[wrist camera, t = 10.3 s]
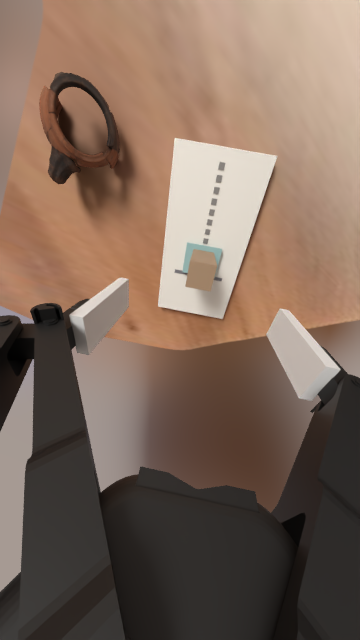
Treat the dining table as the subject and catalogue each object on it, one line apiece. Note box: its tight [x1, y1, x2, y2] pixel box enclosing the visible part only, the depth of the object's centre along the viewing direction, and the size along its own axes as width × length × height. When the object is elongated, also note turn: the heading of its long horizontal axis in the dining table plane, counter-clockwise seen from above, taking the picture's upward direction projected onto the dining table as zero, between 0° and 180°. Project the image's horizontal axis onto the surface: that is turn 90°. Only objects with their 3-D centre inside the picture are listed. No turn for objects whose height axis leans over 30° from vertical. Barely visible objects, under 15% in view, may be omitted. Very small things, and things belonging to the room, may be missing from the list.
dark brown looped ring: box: [39, 72, 119, 184], centre depth 24 cm, size 12×10×8 cm
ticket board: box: [158, 138, 277, 319], centre depth 31 cm, size 14×26×2 cm, turn 171°
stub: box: [182, 242, 222, 292], centre depth 27 cm, size 6×5×10 cm
